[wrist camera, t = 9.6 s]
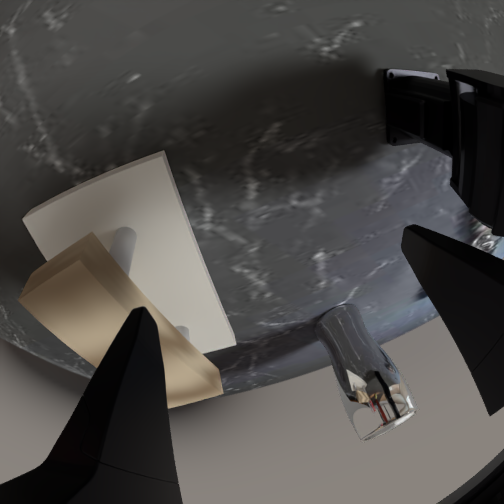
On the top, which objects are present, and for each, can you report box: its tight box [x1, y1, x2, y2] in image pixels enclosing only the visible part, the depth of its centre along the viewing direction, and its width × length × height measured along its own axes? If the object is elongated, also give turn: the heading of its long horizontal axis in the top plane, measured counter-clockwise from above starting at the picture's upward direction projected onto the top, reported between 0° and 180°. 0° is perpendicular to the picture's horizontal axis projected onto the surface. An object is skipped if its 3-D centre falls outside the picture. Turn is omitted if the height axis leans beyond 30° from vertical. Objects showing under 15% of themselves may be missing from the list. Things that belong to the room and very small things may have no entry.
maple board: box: [18, 232, 223, 408], centre depth 17 cm, size 16×6×2 cm, turn 21°
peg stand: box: [22, 150, 236, 354], centre depth 20 cm, size 12×20×6 cm, turn 11°
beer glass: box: [314, 304, 419, 442], centre depth 26 cm, size 7×7×15 cm
